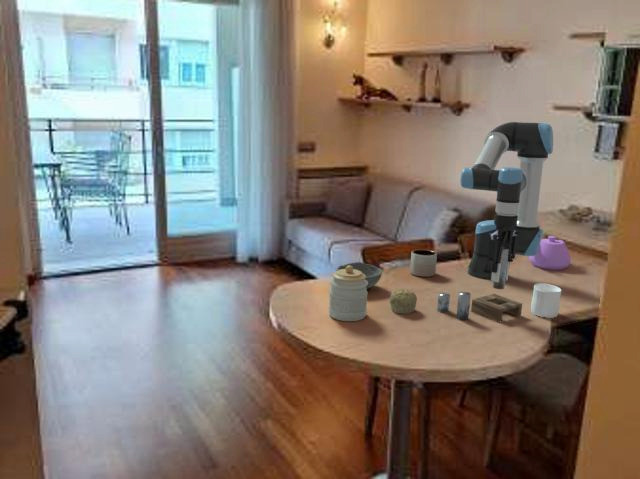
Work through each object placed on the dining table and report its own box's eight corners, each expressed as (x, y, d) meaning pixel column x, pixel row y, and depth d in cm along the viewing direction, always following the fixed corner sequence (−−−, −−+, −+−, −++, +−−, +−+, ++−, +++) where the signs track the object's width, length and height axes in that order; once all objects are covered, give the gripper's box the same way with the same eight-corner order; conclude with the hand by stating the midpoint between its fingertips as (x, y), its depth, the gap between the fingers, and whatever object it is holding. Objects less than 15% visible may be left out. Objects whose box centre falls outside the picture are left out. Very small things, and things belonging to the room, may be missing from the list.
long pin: (497, 285, 208) (501, 246, 205) (506, 288, 205) (511, 249, 202) (490, 286, 206) (494, 247, 203) (499, 289, 203) (503, 250, 200)
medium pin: (461, 315, 205) (464, 290, 203) (470, 319, 202) (473, 294, 200) (453, 317, 203) (456, 292, 201) (462, 321, 200) (465, 296, 198)
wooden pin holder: (493, 305, 216) (494, 293, 215) (520, 315, 207) (522, 303, 206) (471, 311, 209) (472, 299, 208) (498, 322, 200) (500, 309, 199)
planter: (435, 278, 247) (437, 256, 244) (409, 276, 249) (410, 254, 246) (435, 271, 257) (437, 250, 255) (410, 269, 259) (411, 248, 257)
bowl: (348, 297, 220) (349, 277, 218) (328, 283, 236) (329, 264, 234) (390, 292, 227) (391, 272, 225) (368, 279, 243) (369, 260, 241)
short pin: (442, 307, 212) (443, 291, 211) (450, 311, 209) (452, 295, 208) (434, 309, 210) (436, 293, 209) (443, 313, 207) (444, 297, 205)
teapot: (545, 257, 285) (548, 230, 282) (579, 266, 272) (583, 237, 269) (514, 265, 270) (517, 236, 267) (549, 275, 257) (553, 244, 254)
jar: (356, 325, 194) (358, 273, 190) (321, 317, 200) (323, 266, 196) (372, 313, 205) (375, 264, 201) (339, 305, 211) (341, 258, 207)
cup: (543, 320, 203) (547, 293, 201) (523, 310, 212) (526, 284, 210) (564, 316, 207) (568, 290, 205) (543, 307, 216) (546, 282, 214)
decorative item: (392, 315, 214) (379, 296, 209) (411, 297, 216) (399, 278, 211) (406, 325, 205) (392, 305, 201) (426, 306, 207) (413, 286, 203)
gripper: (512, 210, 207) (505, 274, 213) (481, 214, 198) (474, 280, 203) (531, 213, 202) (523, 279, 207) (499, 217, 192) (492, 286, 197)
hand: (499, 280), depth 205 cm, fingers closed on long pin, 4 cm apart
